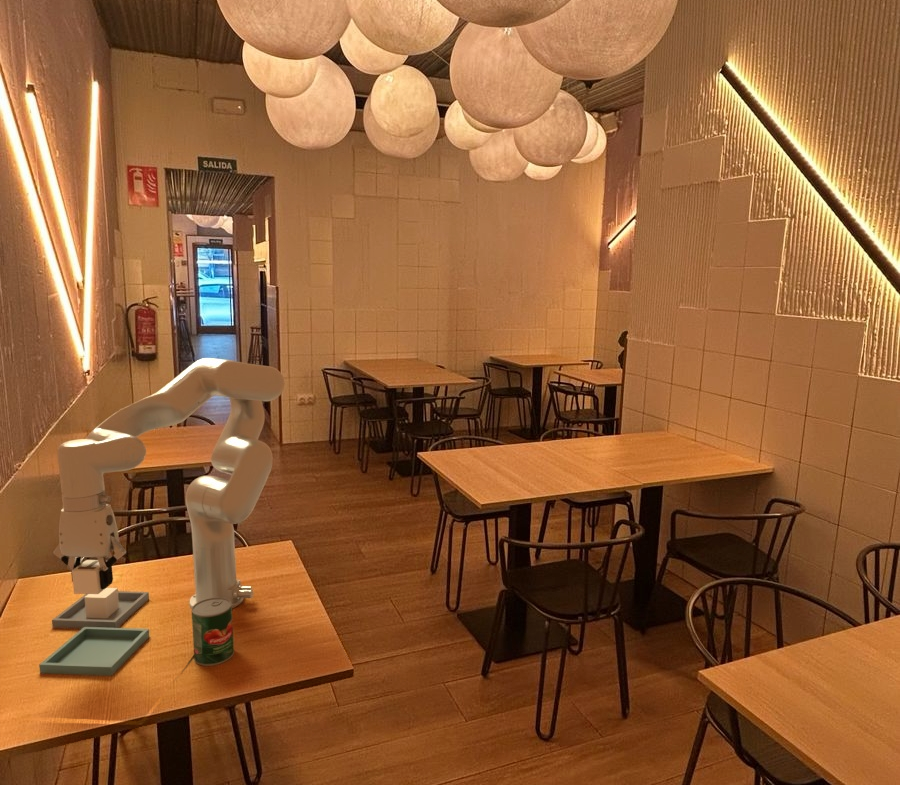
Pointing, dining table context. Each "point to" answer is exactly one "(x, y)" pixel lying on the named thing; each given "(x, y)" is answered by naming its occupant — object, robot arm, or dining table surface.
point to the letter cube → (87, 578)
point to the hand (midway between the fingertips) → (93, 585)
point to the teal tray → (95, 651)
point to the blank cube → (102, 603)
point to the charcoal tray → (78, 620)
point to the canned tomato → (212, 631)
